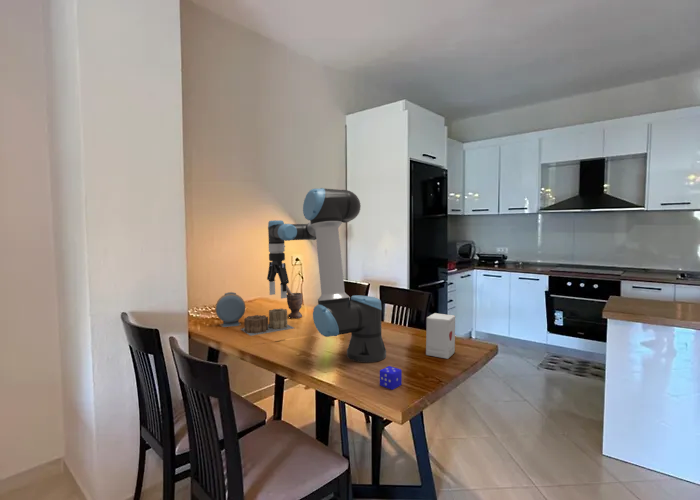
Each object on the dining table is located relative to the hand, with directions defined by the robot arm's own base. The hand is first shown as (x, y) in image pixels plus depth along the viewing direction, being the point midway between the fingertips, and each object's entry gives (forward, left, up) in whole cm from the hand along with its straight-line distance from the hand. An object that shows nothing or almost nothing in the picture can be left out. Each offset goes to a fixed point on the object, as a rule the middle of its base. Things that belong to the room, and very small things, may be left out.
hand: (277, 296), depth 183 cm
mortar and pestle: (+18, -17, -17) cm, 30 cm away
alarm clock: (+18, +17, -17) cm, 30 cm away
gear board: (0, +5, -17) cm, 17 cm away
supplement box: (-70, -38, -17) cm, 81 cm away
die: (-81, -3, -17) cm, 82 cm away
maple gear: (0, 0, -15) cm, 15 cm away
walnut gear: (0, +11, -15) cm, 19 cm away
